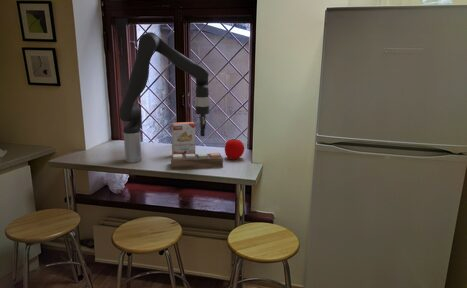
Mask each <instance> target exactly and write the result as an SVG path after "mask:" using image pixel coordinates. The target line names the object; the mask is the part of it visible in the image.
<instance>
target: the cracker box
mask: <svg viewBox="0 0 467 288" xmlns="http://www.w3.org/2000/svg"><path fill="white" fill-rule="evenodd" d="M173 154H182V155H186V154H196V123H195V122H194V121H185V122H171V155H173Z"/></svg>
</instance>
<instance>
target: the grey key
mask: <svg viewBox="0 0 467 288" xmlns="http://www.w3.org/2000/svg"><path fill="white" fill-rule="evenodd" d="M195 154H196V153H195ZM195 154H186V159H187V158H195Z"/></svg>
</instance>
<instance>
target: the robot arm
mask: <svg viewBox="0 0 467 288" xmlns="http://www.w3.org/2000/svg"><path fill="white" fill-rule="evenodd" d="M137 45H138V46H137V51H136V55H135V56H136V57H135V60H134V63H133V65H132V69H131V71H130V72H131V73H130V75H129V79H128V83H127V87H126V91H125V94H124V97H123V99H122V102H121V104H120V107H119V110H118V115H119V119H120V120H121V121H123V122H128V123H127V124H126V125H125V126H124V127H123V132H122V133H123V141H124V142H123V143H124V159H125V160H124V161H125V163H131V164H132V163H133V164H134V163H140V162H141V161H142V160H143V159H142V143H141V128H142V112H141V111H142V110H141V108H140V106H139V105H138V104H136V103H135V102H136V101H137V99H138V97H140V95H141V94H142V93H143V91H144V90H145V89H146V87H147V84H148V81H149V76H150V63H151V59H152V57H153V54H154V52H157V53H159V54H161V55H162V56H164V57H165V58H166V59H167V60H168V61H170V62H171V64H173V65H174V66H176V67H177V68H178V69H179V70H182V71H183V72H185V73H187V74H189V75H190V76H191V77H192V78H194V79H195V102H194V104H195V107H194V108H195V109H194V111H195V112H194V113H195V114H196V115H199V116H198V125H199V131H200V132H199V133H200V137H205V135H206V134H205V133H206V132H205V130H206V127H207V126H206V125H207V117H206V115H208V114H210V98H209V91H210V90H209V77H210V76H209V71H208V70H207V69H206V68H204V67H203V66H201V65H199V64H197V63H195V62H194V61H193V60H192V59H191V58H188V57H187V56H185V55H184V54H183V53H181V52H179V51H178V50H176V49H175V48H173V47H172V46H170V45H169V44H168V43H166V41H165V40H163V39H162V38H161V37H159V35H157V34H156V33H155V32H151V31H149V32H145V33H143V34H142V35H141V36H140V38H139V40H138V44H137Z"/></svg>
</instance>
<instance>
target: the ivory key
mask: <svg viewBox="0 0 467 288" xmlns="http://www.w3.org/2000/svg"><path fill="white" fill-rule="evenodd" d="M173 159H182V154H173Z"/></svg>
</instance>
